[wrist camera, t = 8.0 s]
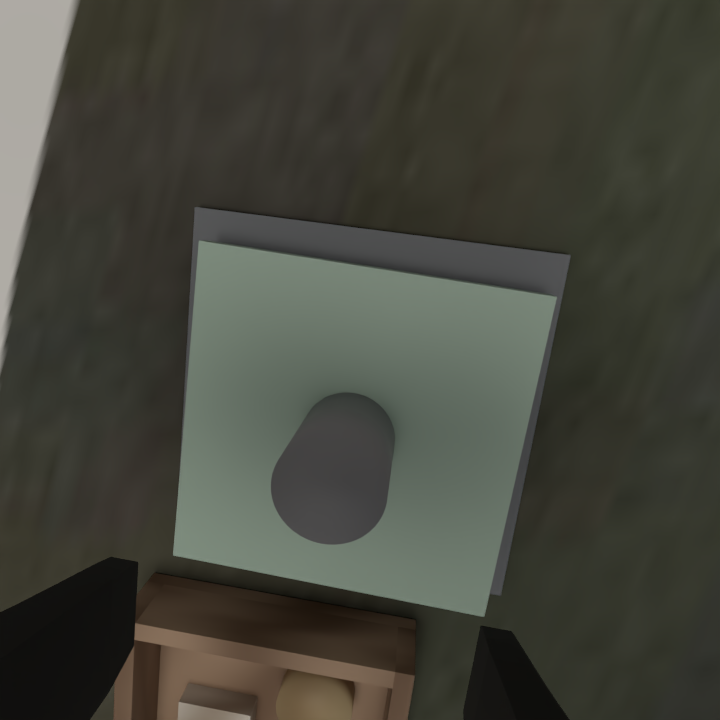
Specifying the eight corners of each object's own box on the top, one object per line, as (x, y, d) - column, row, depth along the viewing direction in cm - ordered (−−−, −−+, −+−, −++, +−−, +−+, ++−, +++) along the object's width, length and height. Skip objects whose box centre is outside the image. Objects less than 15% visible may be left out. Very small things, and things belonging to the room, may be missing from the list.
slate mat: (568, 254, 19) (570, 255, 19) (499, 589, 22) (500, 595, 22) (199, 207, 20) (194, 206, 20) (180, 533, 23) (175, 538, 23)
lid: (545, 291, 19) (597, 315, 14) (479, 590, 22) (499, 712, 16) (216, 240, 20) (135, 241, 14) (190, 533, 23) (113, 631, 17)
